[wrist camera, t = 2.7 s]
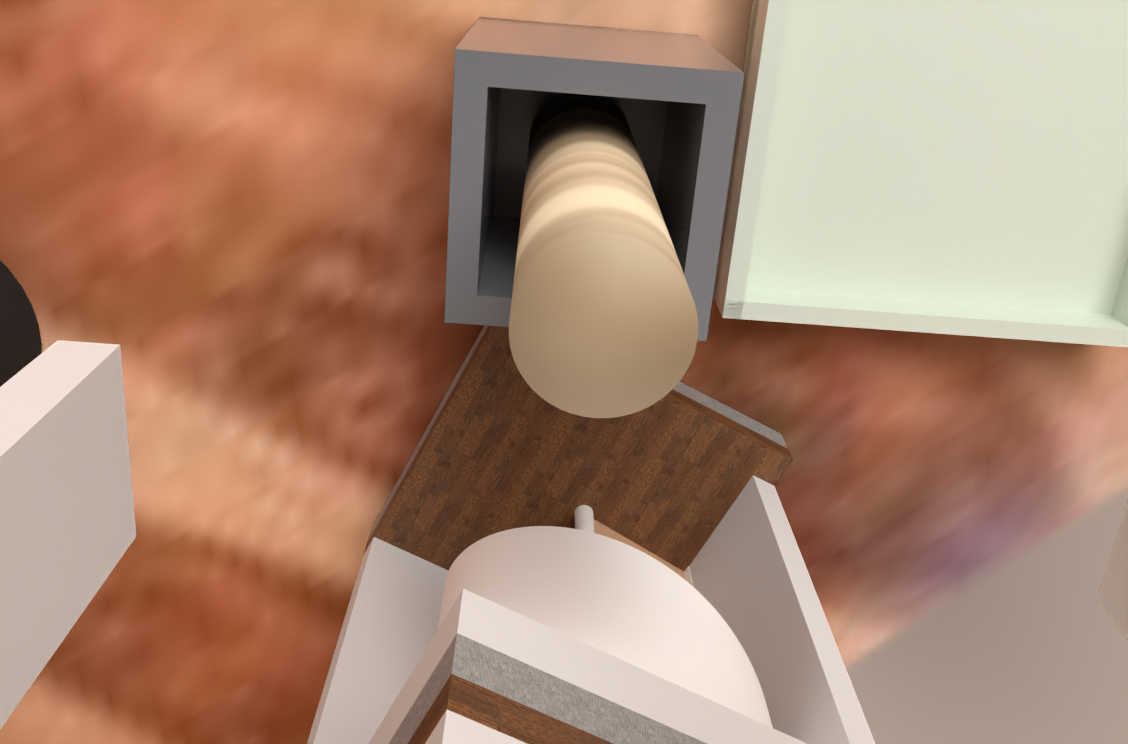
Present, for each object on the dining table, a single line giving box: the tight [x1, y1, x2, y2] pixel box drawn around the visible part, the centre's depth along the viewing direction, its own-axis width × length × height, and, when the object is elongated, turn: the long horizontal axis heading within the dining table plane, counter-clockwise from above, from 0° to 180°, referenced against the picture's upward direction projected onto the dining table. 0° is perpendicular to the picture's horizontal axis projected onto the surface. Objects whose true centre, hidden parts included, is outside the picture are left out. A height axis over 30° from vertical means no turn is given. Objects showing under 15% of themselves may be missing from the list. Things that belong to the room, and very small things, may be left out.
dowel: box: [509, 93, 698, 418], centre depth 26 cm, size 3×3×17 cm
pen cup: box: [445, 17, 744, 341], centre depth 30 cm, size 7×7×9 cm
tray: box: [713, 0, 1128, 347], centre depth 32 cm, size 18×14×2 cm
